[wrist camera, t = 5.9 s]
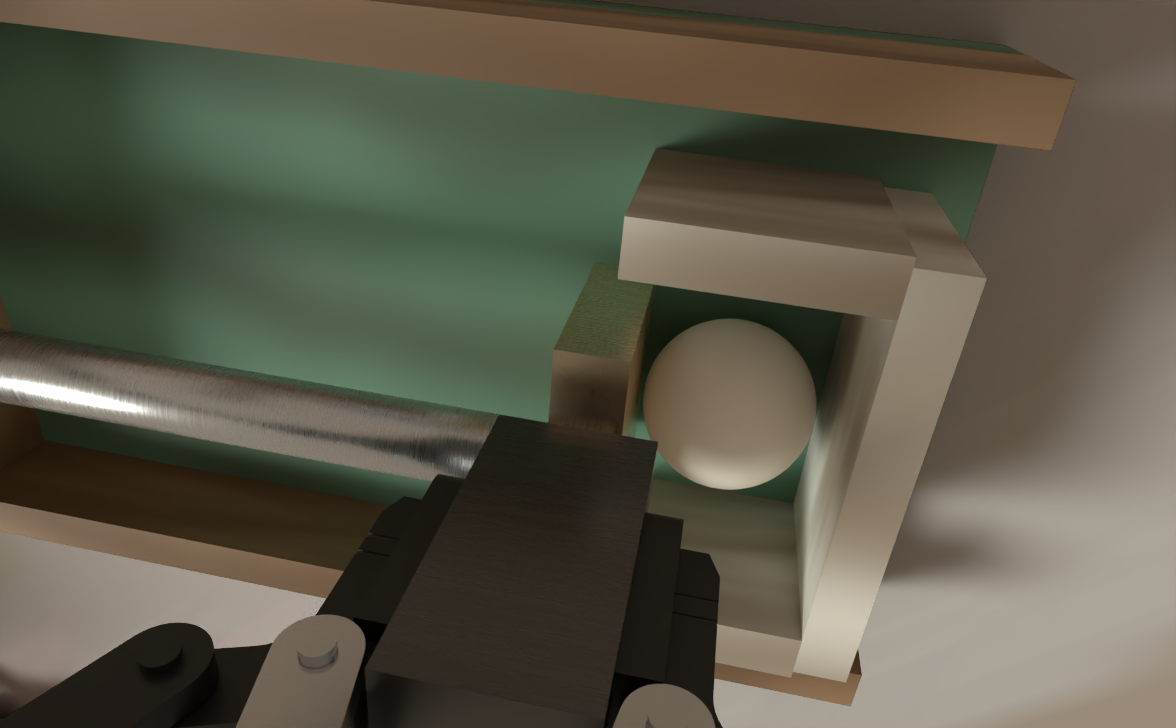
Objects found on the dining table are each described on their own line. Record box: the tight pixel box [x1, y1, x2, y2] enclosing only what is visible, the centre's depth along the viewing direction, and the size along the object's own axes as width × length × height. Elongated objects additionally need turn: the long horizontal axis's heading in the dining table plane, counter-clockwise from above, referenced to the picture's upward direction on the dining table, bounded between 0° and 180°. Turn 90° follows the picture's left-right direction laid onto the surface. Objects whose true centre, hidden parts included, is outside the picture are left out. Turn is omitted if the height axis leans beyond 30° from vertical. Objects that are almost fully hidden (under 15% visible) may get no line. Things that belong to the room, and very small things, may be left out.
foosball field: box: [0, 0, 1076, 706], centre depth 19 cm, size 16×28×9 cm, turn 85°
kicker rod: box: [0, 262, 658, 728], centre depth 17 cm, size 5×22×12 cm, turn 85°
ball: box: [643, 319, 816, 490], centre depth 19 cm, size 4×4×4 cm
